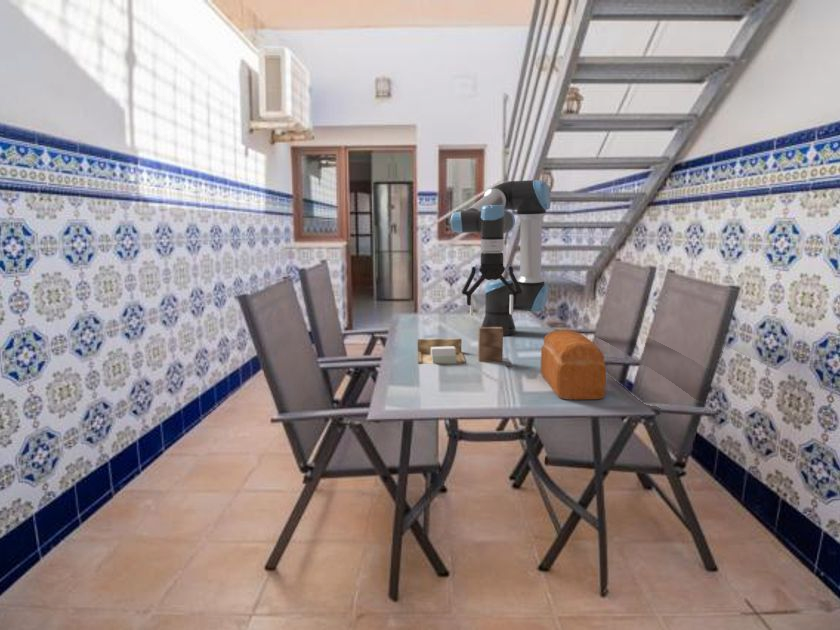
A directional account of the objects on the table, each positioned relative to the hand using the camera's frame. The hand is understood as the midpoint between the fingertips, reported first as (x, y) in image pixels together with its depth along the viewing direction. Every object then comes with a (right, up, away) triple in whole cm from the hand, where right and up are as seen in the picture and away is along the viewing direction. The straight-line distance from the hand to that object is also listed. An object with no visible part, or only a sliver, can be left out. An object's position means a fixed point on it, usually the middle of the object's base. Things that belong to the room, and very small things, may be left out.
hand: (491, 314), depth 183 cm
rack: (-17, -16, +6) cm, 24 cm away
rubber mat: (0, -17, +3) cm, 17 cm away
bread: (+20, -22, -24) cm, 38 cm away
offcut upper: (-17, -14, 0) cm, 22 cm away
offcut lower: (-16, -16, 0) cm, 23 cm away
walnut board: (0, -16, +3) cm, 17 cm away
